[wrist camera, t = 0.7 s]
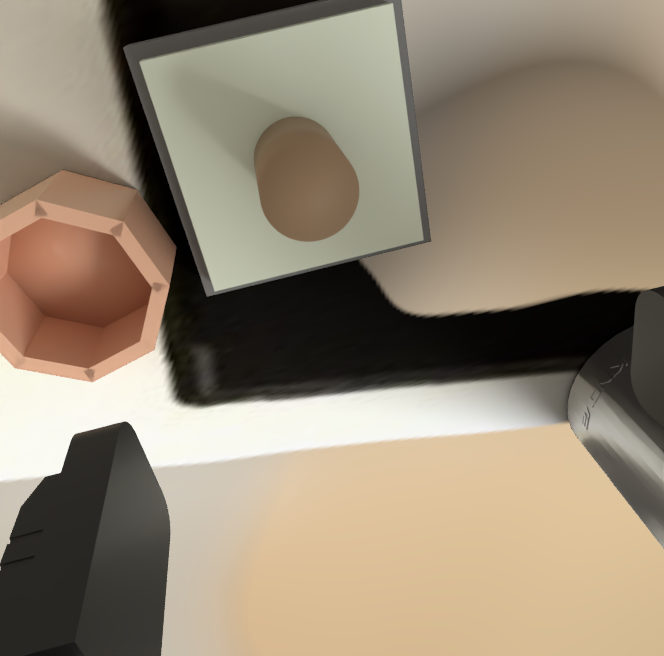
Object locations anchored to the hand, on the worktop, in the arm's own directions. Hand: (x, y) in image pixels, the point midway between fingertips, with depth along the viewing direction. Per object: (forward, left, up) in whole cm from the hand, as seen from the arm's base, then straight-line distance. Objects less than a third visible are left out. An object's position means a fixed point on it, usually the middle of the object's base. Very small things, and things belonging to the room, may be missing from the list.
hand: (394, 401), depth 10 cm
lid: (0, 0, -17) cm, 17 cm away
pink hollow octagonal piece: (+7, +7, -18) cm, 21 cm away
